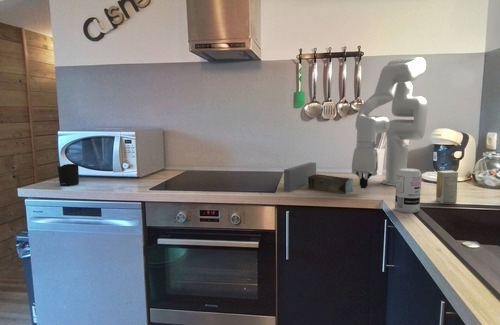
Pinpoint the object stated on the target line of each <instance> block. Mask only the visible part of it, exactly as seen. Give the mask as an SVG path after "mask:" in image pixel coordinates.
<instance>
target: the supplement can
mask: <svg viewBox="0 0 500 325" xmlns="http://www.w3.org/2000/svg"><path fill="white" fill-rule="evenodd" d="M422 175H423V174H422V172H421V170H420V169H419V168H412V167H411V168H410V167H409V168H408V167H407V168H401V169H399V170H398V172H397V176H396V186H395V196H394V198H395V199H394V200H395V201H394V203H395V204H394V208H395V209H396V211H398V212H401V213H405V214H407V213H408V214H415V213H418V212H419V211H420V207H421V189H422Z"/></svg>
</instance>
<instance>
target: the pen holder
mask: <svg viewBox="0 0 500 325" xmlns="http://www.w3.org/2000/svg"><path fill="white" fill-rule="evenodd" d="M56 168H57V173H58V181H59V185H60V186H61V187H73V186H76V185H79V183H80V177H79V176H80V172H79V164H78V163H67V164H63V165H61V166H59V165H57V167H56Z"/></svg>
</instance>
